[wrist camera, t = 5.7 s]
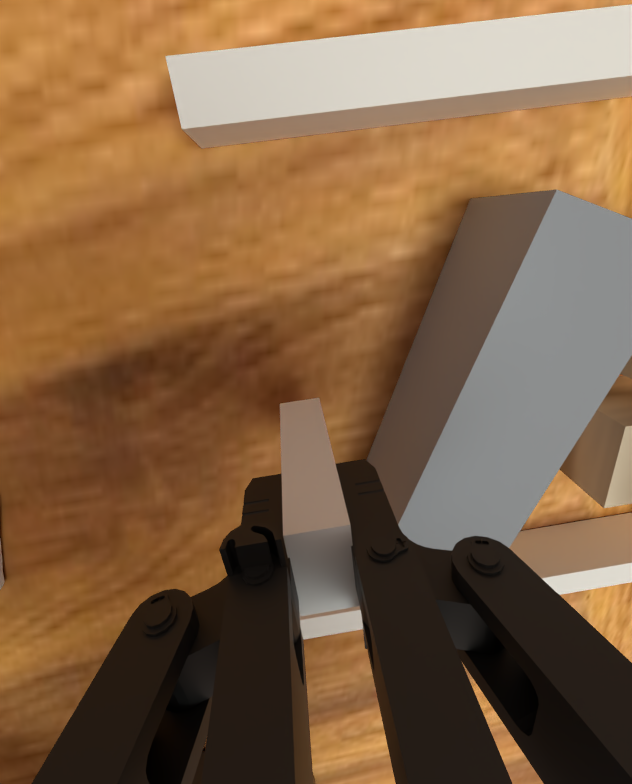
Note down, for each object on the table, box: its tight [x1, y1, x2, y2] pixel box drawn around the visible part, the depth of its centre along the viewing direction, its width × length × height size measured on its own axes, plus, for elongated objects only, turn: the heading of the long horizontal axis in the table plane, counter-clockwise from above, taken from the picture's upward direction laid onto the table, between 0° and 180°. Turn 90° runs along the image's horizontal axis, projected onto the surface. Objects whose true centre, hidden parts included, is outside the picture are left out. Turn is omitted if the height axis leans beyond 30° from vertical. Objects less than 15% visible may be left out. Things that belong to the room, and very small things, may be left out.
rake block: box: [366, 190, 632, 551], centre depth 15 cm, size 5×14×5 cm, turn 164°
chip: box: [560, 375, 632, 508], centre depth 17 cm, size 4×4×4 cm
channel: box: [166, 4, 632, 640], centre depth 16 cm, size 24×23×3 cm
